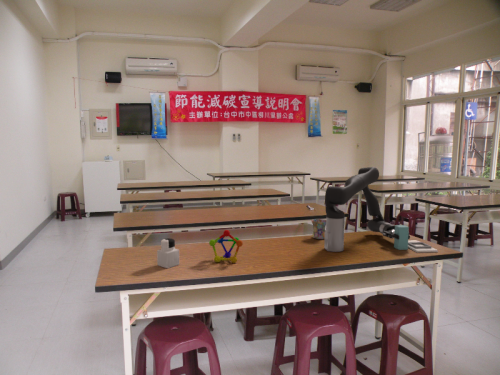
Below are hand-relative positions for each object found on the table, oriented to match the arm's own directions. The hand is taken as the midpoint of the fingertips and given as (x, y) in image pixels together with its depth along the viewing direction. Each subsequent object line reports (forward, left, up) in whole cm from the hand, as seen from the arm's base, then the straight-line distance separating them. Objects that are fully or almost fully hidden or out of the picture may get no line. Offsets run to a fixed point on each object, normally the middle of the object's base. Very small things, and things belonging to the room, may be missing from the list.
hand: (403, 237), depth 182 cm
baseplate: (+10, +5, -6) cm, 13 cm away
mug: (-38, +29, -7) cm, 48 cm away
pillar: (0, +3, -6) cm, 7 cm away
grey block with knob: (-119, -16, -7) cm, 120 cm away
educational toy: (-93, -10, -7) cm, 94 cm away
